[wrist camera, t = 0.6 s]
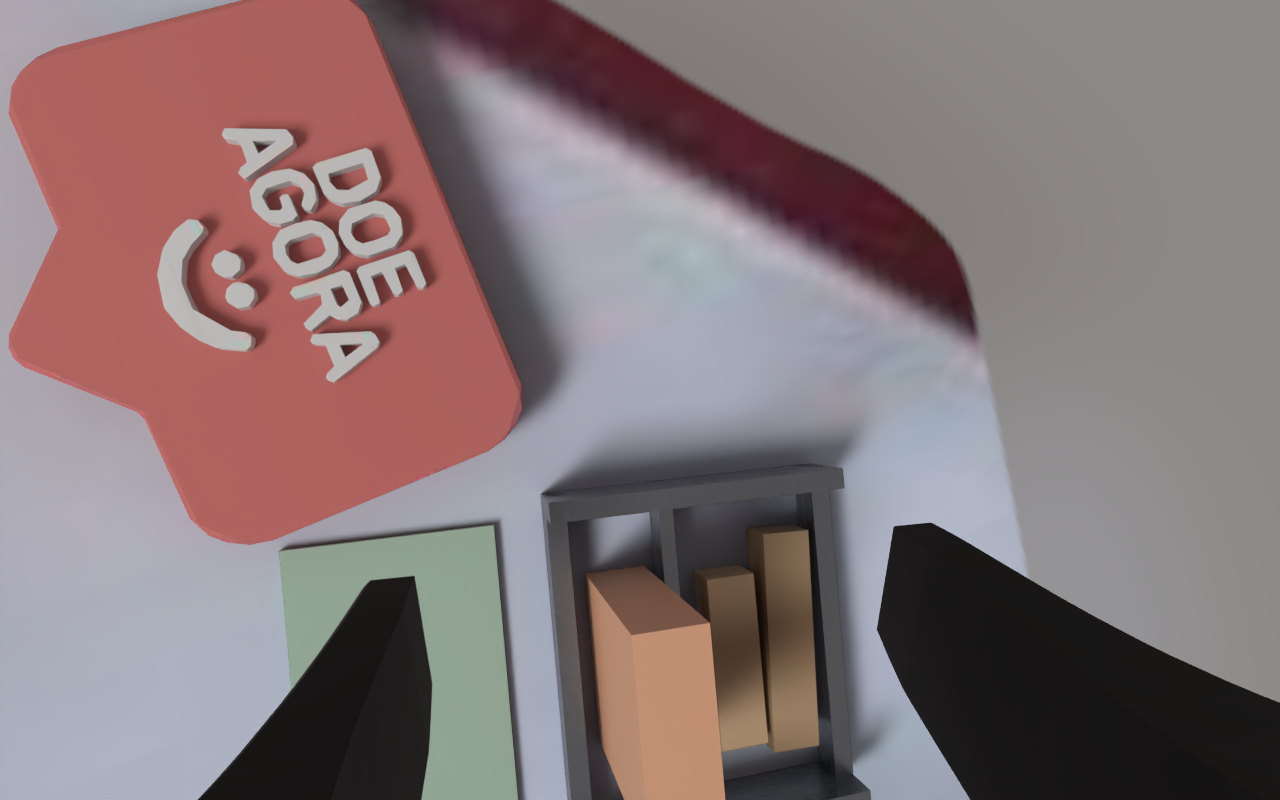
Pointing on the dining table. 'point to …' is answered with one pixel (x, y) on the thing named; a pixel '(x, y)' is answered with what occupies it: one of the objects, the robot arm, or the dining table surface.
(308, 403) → the red flat case
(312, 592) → the mat
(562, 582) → the rack
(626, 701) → the tall orange plank
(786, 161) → the dining table surface
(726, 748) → the offcut short
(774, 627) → the block
